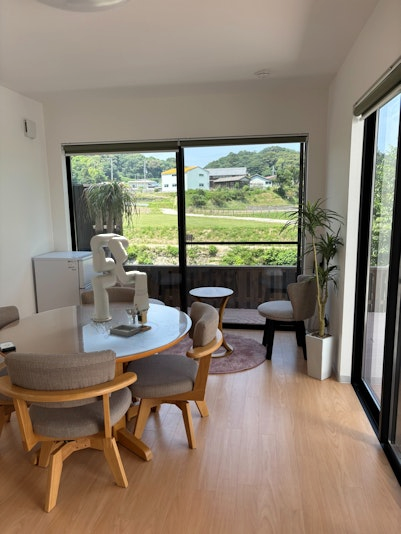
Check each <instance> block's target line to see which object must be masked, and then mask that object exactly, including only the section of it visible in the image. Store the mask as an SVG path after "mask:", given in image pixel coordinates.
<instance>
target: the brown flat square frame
mask: <svg viewBox="0 0 401 534" xmlns="http://www.w3.org/2000/svg"><path fill="white" fill-rule="evenodd" d="M136 327H139V328H140V332H142V333H144V332H147V331H150V330H151V329H152V326H151V325H146V324H143V325H142V324H139V325H138V326H136Z"/></svg>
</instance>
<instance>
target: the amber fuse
mask: <svg viewBox="0 0 401 534" xmlns="http://www.w3.org/2000/svg"><path fill="white" fill-rule="evenodd" d="M139 312H140V311H139ZM147 314H148V311H144V310H142V311H141V315H142V321H141V322H140V321H138V320H137V324H138V325H146V324H147V323H148V315H147Z"/></svg>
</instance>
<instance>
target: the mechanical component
mask: <svg viewBox="0 0 401 534" xmlns="http://www.w3.org/2000/svg"><path fill="white" fill-rule="evenodd" d="M125 311H126V314H127V315H128V316H131V317H132V324H133V325H134V324H136V317H137V314H136V313H135V312H134V307H132V308H129V307H128V308H126V309H125Z"/></svg>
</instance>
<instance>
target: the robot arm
mask: <svg viewBox="0 0 401 534" xmlns="http://www.w3.org/2000/svg"><path fill="white" fill-rule="evenodd" d="M89 243H90V244H89V245H90V249H91V253H92V269H93V272H94V273H96V274H97V275H95V276H93V277H92V278H91V286H92V289H93V302H94V312H93V313H92V314H91V315H92V316H94V317H93V318H92V320H93V322H97V323H98V322H99V323H101V322H103V323H104V322H109V321H111V320H112V316H111V315H110V307H109V306H110V304H109V293H108V291H107V290H106V288H111V287H114V286H115V285H116V283H117V277H118V280H119V281H120V283H122V284H123V285H130V284H134V291H135V292H134V293H135V294H134V296H133V308H134V312H135V313H136V314H137V315H136V317H137V322H138V321H140V322H141V321H142V315H141V311H142V310H144V311H147V312H148V311H149V309H150V300H149V299H150V298H149V293H148V275H147V272H140V271H138V270H131V271H125V269H124V267H123V264H124V263H125V262H126V261H127V260H128V258H129V254H128V253H127V251H126V250H127V249H129V245H130V244H129V243H130V242H129V240H128V239H127V238H126V237H125V236H122V235H119V234H116V233H103V234H96V235H94V236H92V238H91V239H90V242H89ZM104 247H105V248H107V247H108V249H109V251H110V252H111V254H112V256H113V258H114V259H113V258H111V257H106V252H105V250H104ZM139 311H140V312H139Z"/></svg>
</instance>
